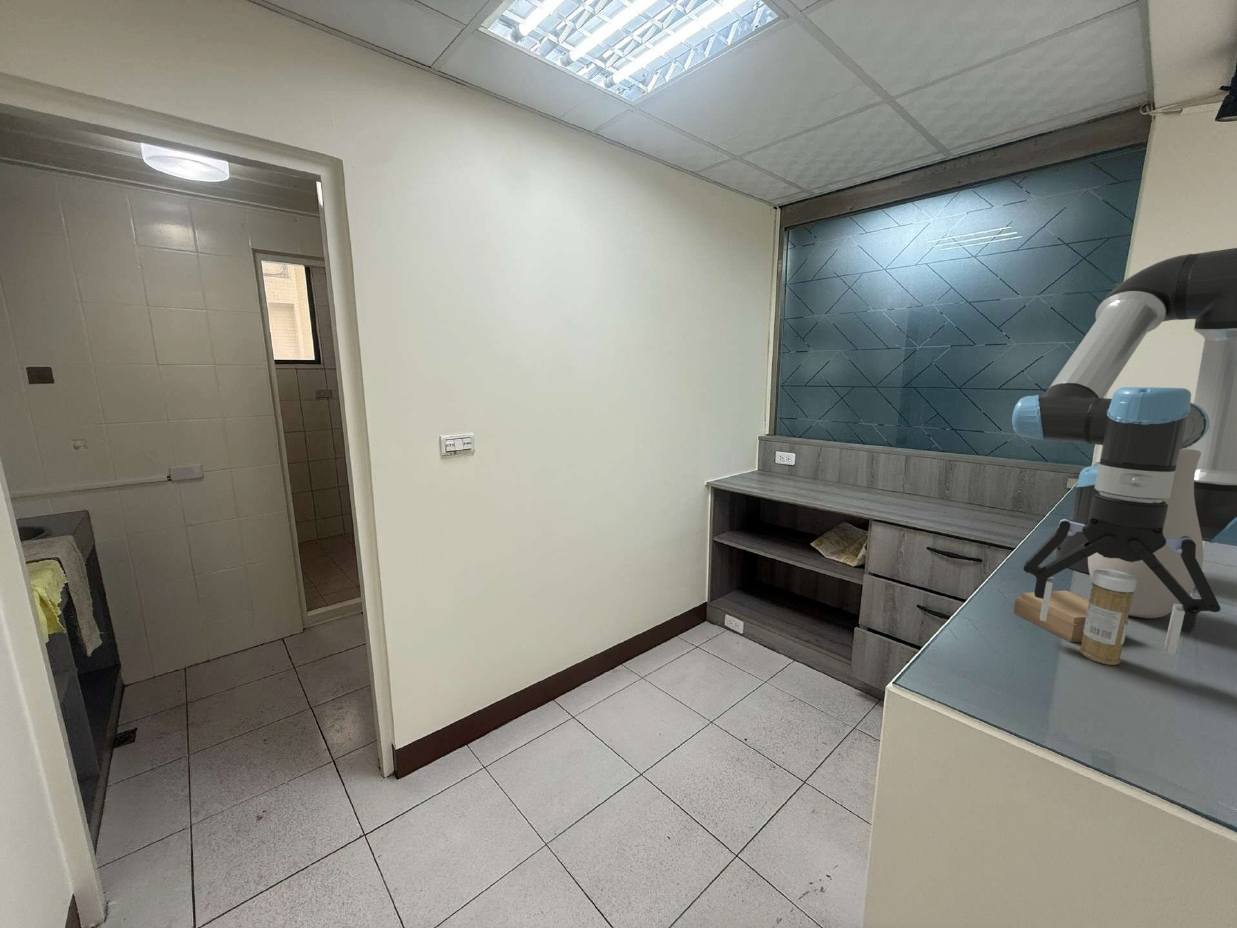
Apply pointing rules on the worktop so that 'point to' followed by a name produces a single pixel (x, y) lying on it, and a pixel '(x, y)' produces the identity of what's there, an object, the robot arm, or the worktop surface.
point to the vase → (1179, 522)
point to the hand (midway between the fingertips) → (1102, 633)
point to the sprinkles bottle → (1107, 616)
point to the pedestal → (1056, 613)
